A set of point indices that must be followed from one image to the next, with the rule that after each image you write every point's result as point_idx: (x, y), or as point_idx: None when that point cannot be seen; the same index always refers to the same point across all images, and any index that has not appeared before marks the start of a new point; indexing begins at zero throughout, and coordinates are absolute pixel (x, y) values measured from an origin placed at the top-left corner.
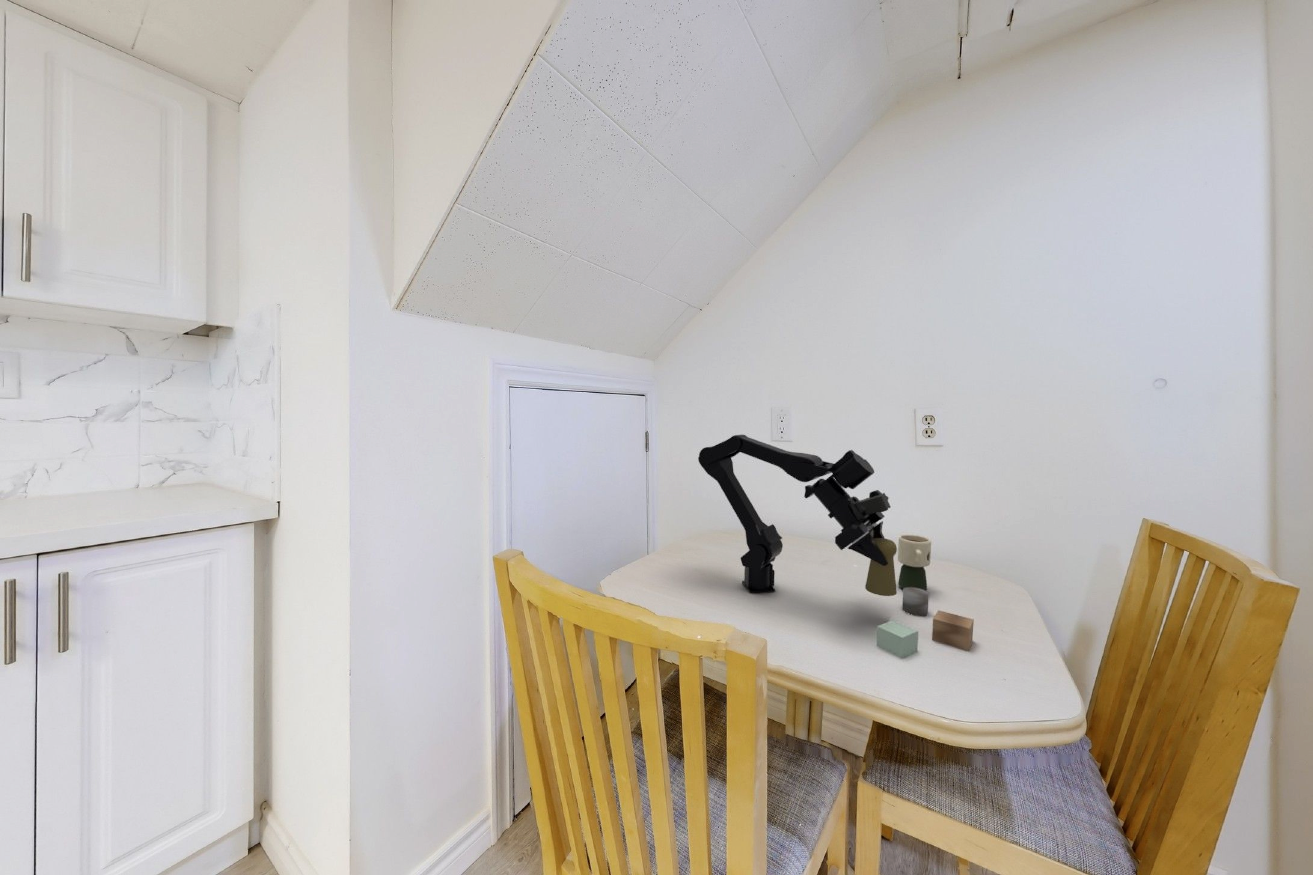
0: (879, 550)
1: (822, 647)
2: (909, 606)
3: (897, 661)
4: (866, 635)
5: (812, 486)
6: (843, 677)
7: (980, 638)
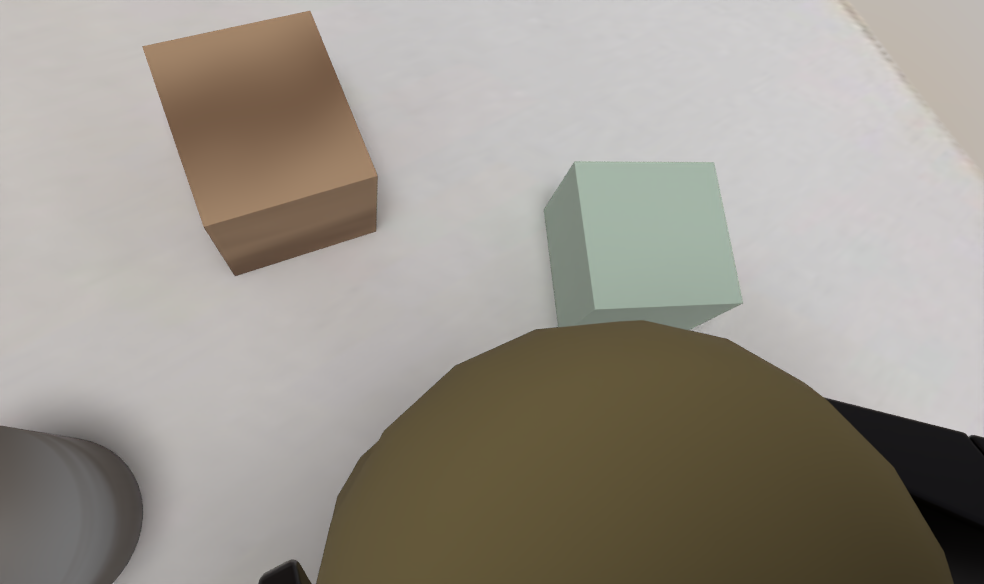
0: (905, 441)
1: None
2: (121, 513)
3: None
4: None
5: None
6: (973, 236)
7: (110, 116)
